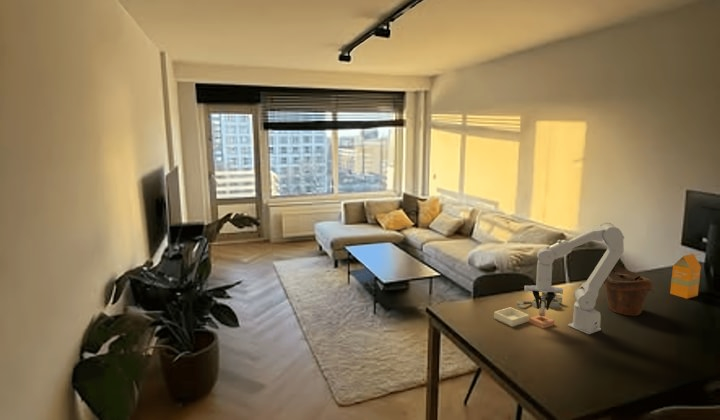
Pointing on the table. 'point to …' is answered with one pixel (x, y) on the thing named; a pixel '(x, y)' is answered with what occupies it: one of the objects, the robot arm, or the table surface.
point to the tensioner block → (541, 321)
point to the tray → (511, 316)
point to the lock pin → (542, 305)
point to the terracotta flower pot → (626, 291)
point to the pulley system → (553, 305)
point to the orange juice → (686, 277)
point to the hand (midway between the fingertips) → (542, 308)
